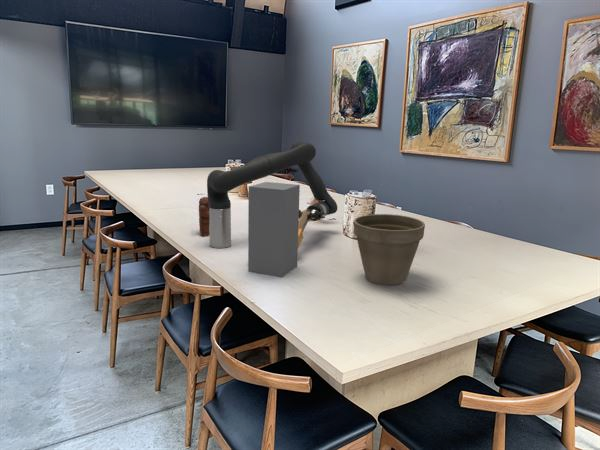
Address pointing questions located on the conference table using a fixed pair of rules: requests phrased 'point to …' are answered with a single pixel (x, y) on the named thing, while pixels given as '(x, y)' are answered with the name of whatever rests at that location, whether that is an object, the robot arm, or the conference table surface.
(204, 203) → the wooden figurine
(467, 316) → the conference table surface
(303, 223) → the mallet
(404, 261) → the plant pot
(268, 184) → the pedestal
